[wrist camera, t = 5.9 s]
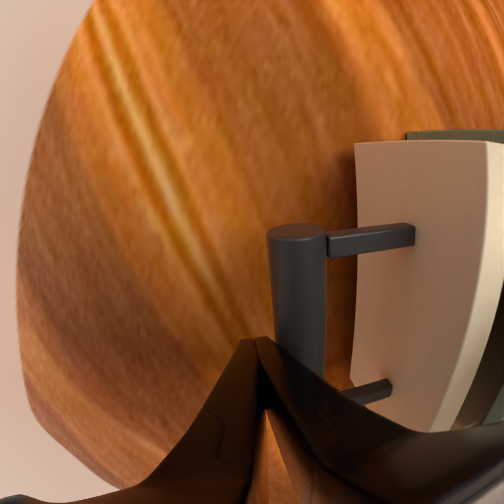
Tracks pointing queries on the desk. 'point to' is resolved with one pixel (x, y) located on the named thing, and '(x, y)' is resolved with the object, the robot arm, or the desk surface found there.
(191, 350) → the desk surface
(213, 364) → the desk surface
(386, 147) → the drawer
